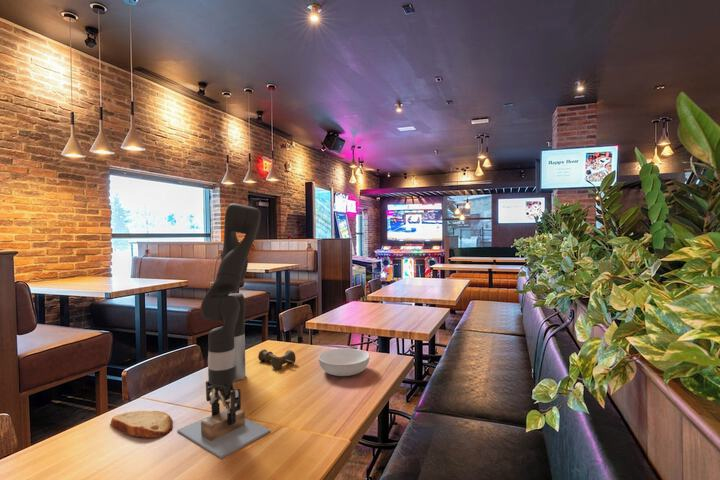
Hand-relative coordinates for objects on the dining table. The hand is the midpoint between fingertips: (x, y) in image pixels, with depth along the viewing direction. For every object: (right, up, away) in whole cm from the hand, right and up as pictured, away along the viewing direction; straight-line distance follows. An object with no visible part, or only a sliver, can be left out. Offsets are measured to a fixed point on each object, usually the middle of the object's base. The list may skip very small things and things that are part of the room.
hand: (223, 420), depth 112 cm
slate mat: (0, -3, 0) cm, 3 cm away
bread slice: (-26, -4, +4) cm, 27 cm away
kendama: (+4, -2, +55) cm, 55 cm away
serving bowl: (+33, -2, +45) cm, 56 cm away
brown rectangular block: (0, -3, 0) cm, 3 cm away
